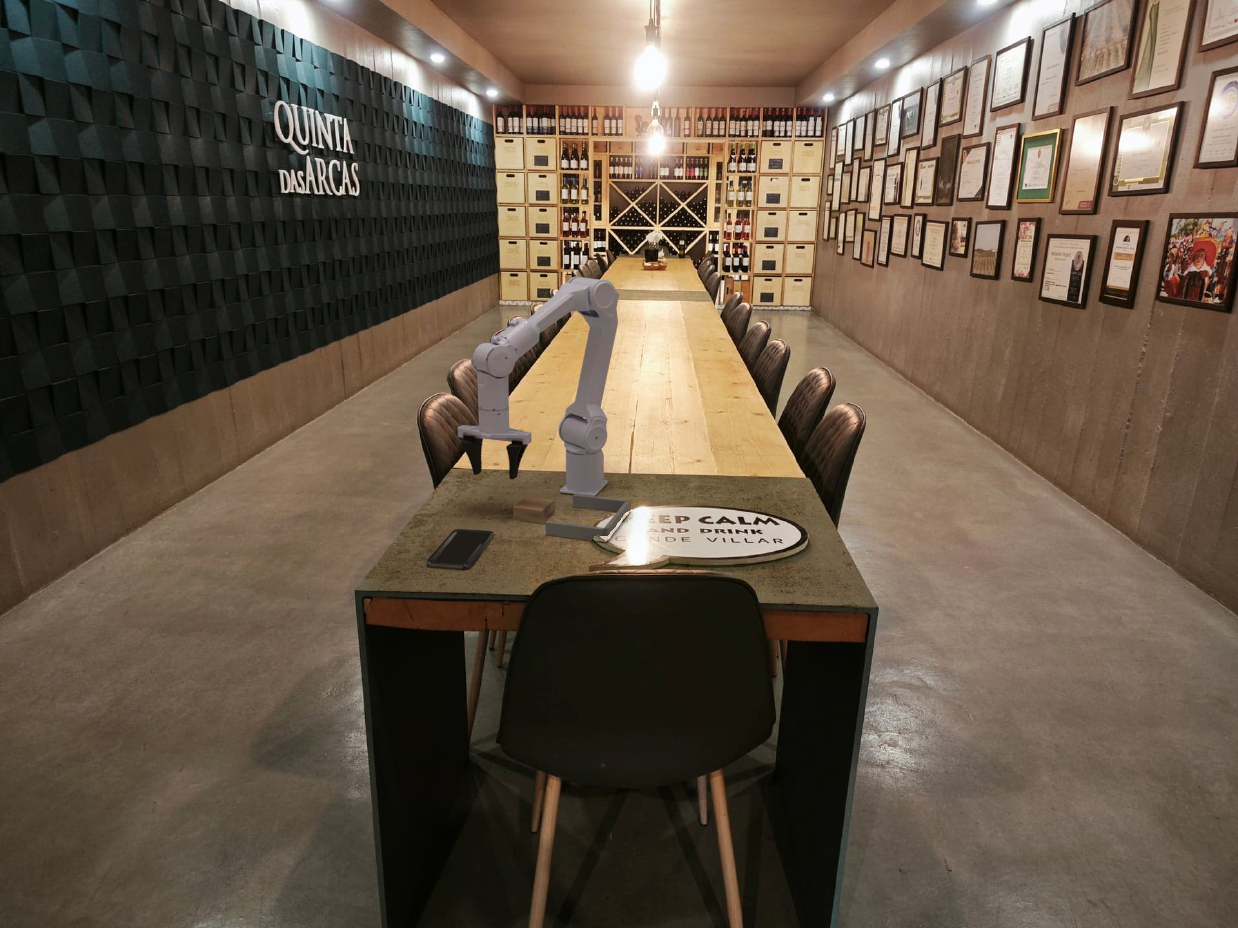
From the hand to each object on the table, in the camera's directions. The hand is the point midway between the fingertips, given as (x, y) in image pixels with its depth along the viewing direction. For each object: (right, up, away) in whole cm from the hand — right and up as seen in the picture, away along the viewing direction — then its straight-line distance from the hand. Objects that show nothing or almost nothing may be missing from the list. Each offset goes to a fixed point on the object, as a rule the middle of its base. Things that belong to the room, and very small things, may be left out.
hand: (495, 475), depth 153 cm
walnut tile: (+8, -8, +1) cm, 11 cm away
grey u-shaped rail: (+18, -9, -3) cm, 21 cm away
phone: (-4, -13, -15) cm, 20 cm away
